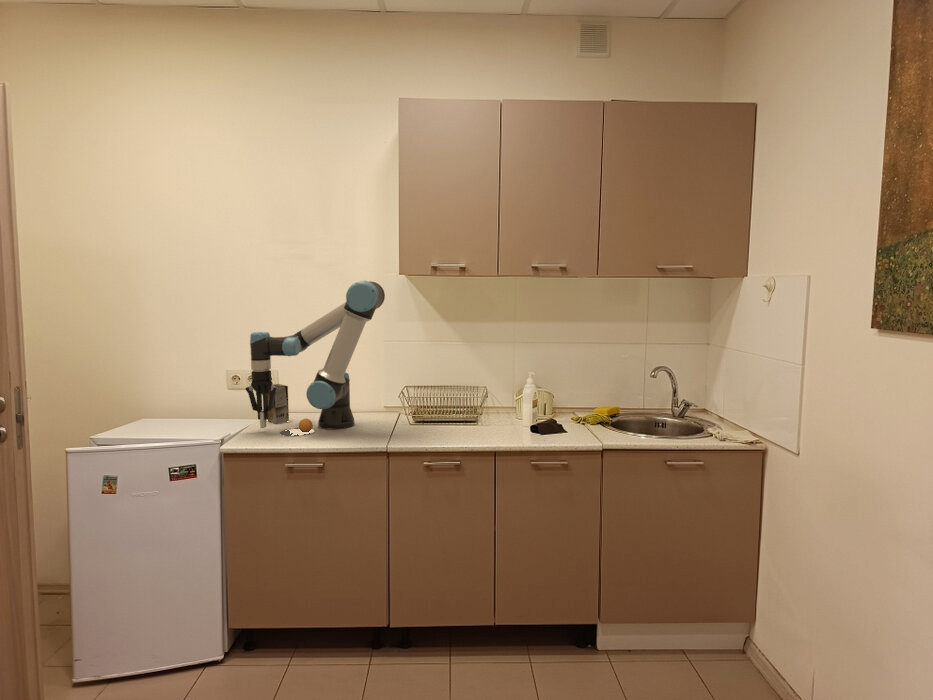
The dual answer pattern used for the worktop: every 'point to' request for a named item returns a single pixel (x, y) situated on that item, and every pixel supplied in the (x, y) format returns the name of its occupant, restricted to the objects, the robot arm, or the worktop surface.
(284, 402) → the coffee box
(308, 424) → the ball
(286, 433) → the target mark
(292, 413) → the worktop surface
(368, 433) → the worktop surface
